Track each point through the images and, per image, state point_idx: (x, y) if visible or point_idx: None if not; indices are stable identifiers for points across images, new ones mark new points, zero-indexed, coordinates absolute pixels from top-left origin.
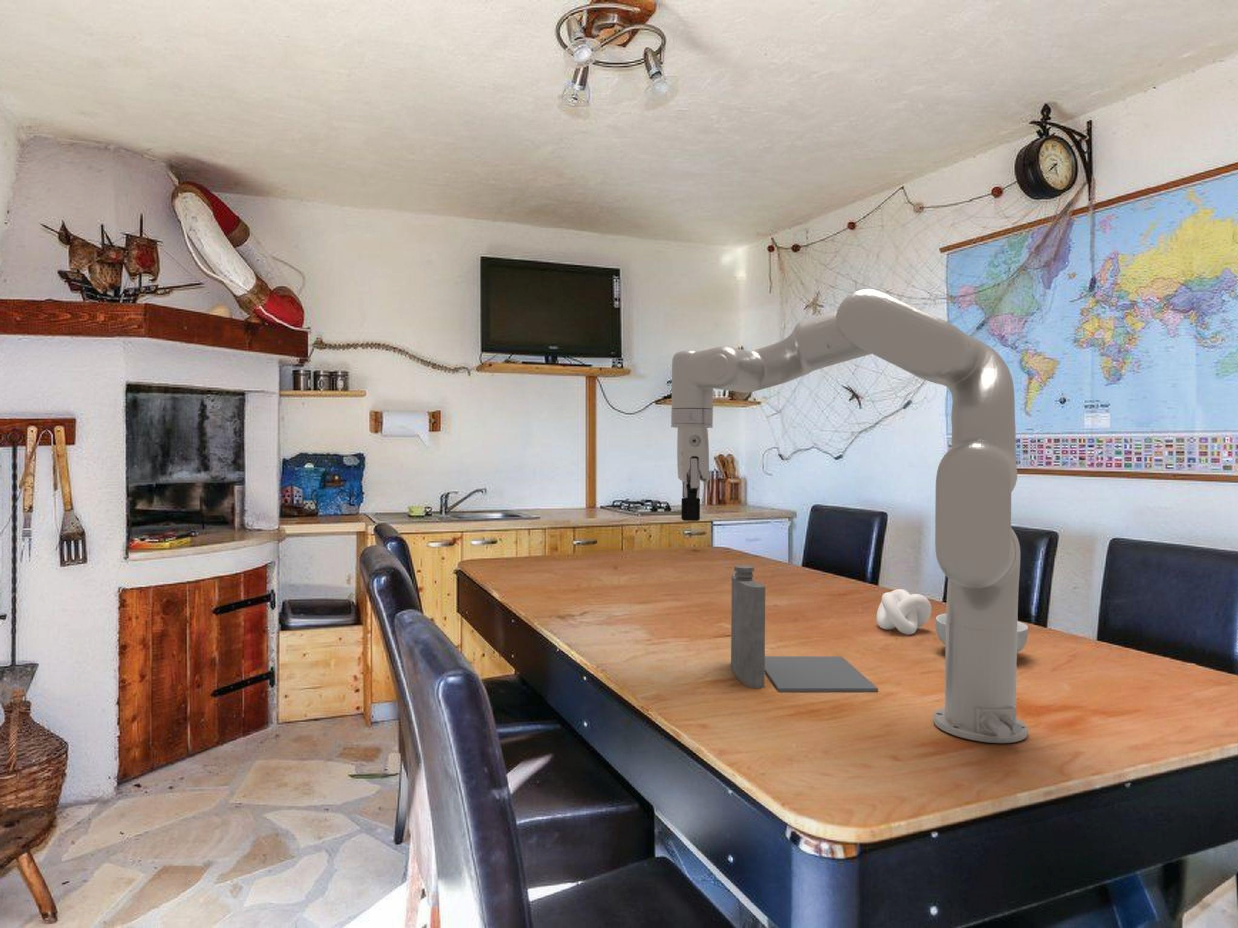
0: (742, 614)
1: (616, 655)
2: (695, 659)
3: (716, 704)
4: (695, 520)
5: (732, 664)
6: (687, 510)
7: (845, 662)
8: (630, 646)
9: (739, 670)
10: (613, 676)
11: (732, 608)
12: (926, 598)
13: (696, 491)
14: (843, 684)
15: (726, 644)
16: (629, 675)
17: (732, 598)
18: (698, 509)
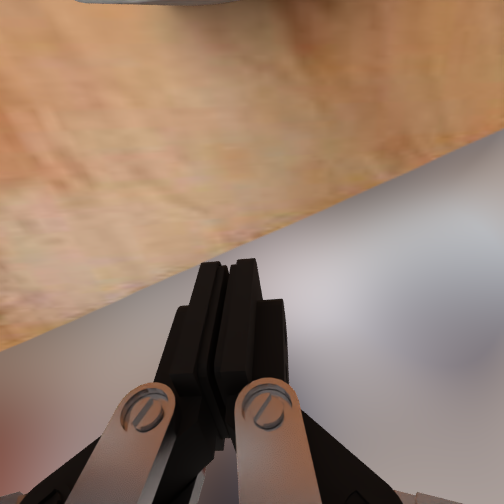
0: None
1: (176, 225)
2: (161, 90)
3: (443, 43)
4: (257, 274)
5: (225, 2)
6: (287, 357)
7: None
8: (116, 210)
9: None
10: (288, 220)
11: (193, 1)
12: None
13: (373, 473)
14: None
15: (14, 14)
16: (281, 199)
17: (184, 1)
18: (253, 309)
